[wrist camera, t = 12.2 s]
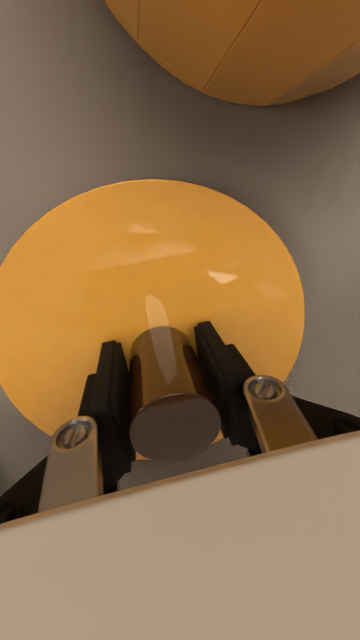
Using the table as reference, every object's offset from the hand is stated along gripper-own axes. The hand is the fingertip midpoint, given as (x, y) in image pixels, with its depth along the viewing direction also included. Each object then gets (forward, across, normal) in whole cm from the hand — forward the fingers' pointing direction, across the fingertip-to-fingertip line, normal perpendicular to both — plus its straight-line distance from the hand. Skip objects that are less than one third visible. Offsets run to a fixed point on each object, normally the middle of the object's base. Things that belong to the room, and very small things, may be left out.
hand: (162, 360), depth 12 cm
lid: (+1, 0, 0) cm, 1 cm away
